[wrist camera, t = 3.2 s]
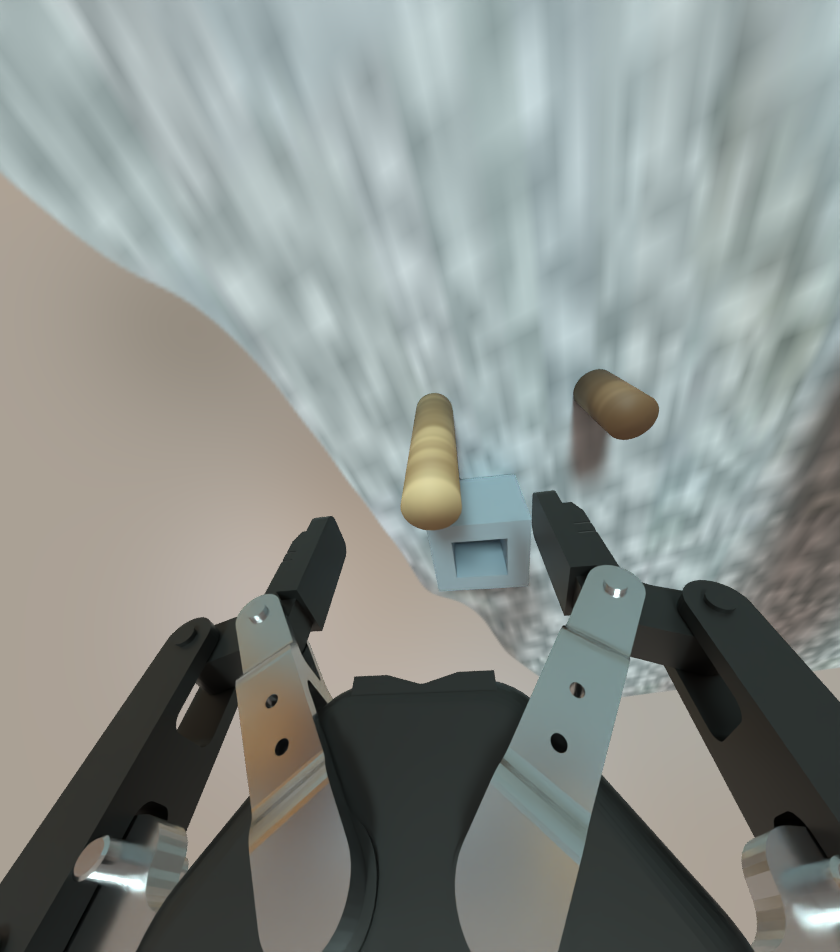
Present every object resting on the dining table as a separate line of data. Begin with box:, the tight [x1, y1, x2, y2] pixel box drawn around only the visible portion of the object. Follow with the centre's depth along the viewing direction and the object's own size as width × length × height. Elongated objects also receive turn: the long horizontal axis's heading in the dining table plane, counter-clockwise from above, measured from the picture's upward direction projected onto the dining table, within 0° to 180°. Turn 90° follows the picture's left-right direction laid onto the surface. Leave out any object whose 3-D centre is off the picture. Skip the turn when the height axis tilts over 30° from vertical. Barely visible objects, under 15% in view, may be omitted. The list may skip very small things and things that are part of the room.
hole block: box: [427, 474, 532, 591], centre depth 23 cm, size 6×6×5 cm
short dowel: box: [573, 369, 659, 440], centre depth 17 cm, size 2×2×4 cm
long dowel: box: [401, 393, 462, 530], centre depth 16 cm, size 2×2×10 cm
